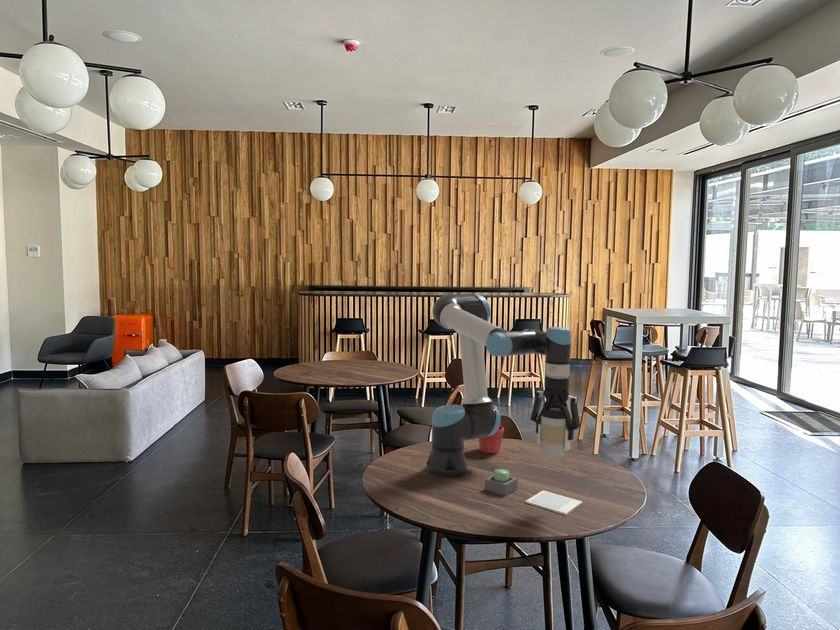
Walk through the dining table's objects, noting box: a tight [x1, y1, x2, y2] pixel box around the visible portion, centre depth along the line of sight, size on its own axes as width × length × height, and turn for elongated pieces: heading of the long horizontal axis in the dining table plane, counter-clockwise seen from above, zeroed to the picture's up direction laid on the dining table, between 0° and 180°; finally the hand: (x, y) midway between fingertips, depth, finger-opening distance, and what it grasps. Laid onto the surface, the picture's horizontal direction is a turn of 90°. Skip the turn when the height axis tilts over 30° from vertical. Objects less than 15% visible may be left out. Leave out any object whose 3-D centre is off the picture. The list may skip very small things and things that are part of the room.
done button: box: [493, 468, 510, 483], centre depth 202 cm, size 5×5×4 cm
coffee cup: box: [540, 405, 568, 458], centre depth 190 cm, size 9×9×15 cm
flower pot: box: [477, 425, 505, 454], centre depth 243 cm, size 11×11×10 cm
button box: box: [484, 474, 519, 496], centre depth 202 cm, size 8×8×4 cm
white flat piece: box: [524, 490, 583, 516], centre depth 192 cm, size 14×12×1 cm
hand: (553, 446), depth 190 cm, fingers closed on coffee cup, 8 cm apart
